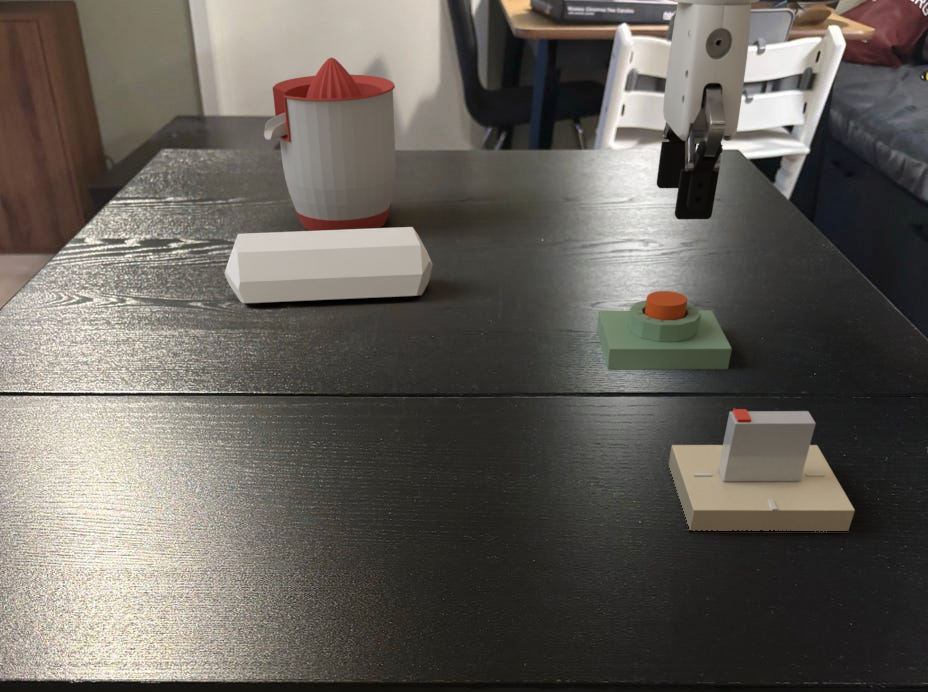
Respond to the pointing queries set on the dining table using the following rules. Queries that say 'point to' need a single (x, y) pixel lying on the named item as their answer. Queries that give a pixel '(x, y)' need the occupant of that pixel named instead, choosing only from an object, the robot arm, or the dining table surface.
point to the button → (666, 305)
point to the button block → (662, 340)
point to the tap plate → (757, 495)
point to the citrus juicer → (336, 147)
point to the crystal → (328, 265)
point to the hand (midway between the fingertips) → (682, 202)
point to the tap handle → (765, 445)
